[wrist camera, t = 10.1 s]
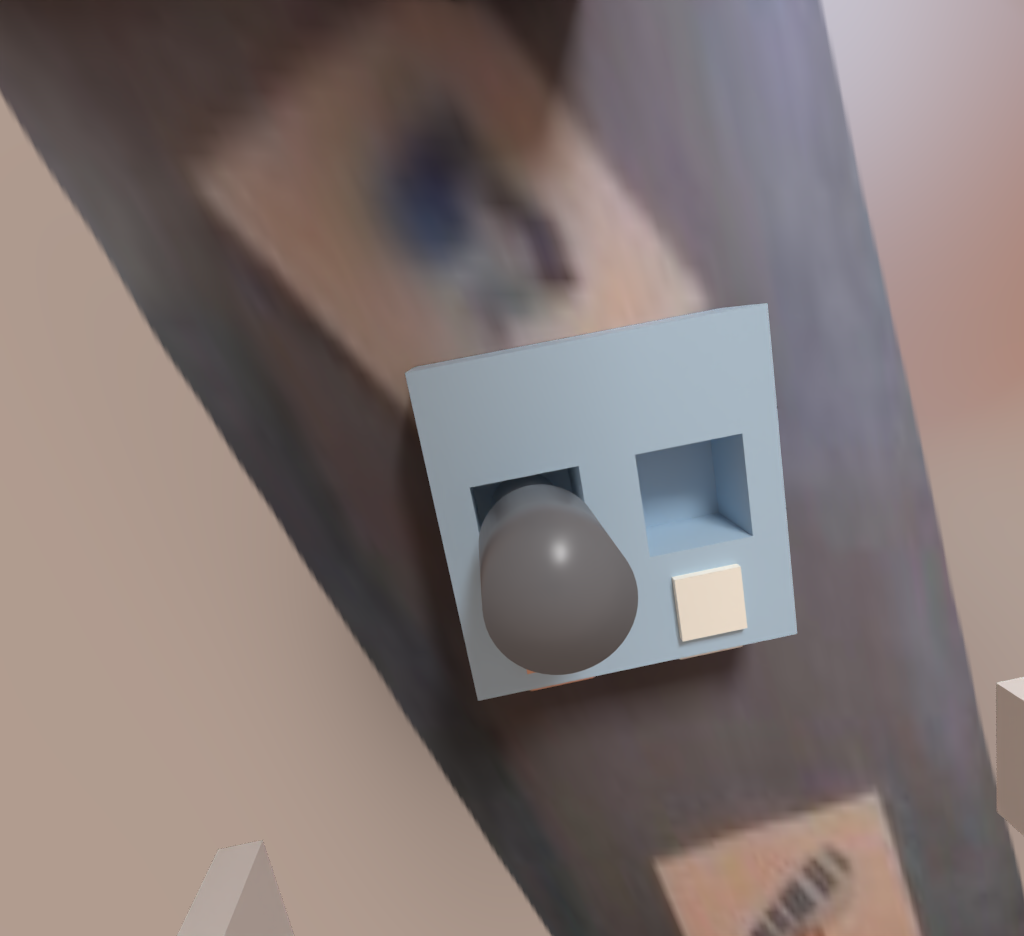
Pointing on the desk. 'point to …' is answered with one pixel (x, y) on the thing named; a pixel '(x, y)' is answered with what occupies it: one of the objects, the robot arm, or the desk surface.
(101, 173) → the desk surface
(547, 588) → the grey piece
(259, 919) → the robot arm
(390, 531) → the desk surface
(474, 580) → the socket board
